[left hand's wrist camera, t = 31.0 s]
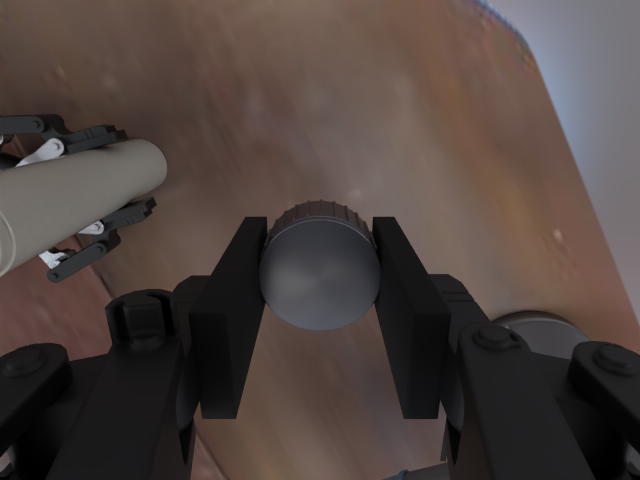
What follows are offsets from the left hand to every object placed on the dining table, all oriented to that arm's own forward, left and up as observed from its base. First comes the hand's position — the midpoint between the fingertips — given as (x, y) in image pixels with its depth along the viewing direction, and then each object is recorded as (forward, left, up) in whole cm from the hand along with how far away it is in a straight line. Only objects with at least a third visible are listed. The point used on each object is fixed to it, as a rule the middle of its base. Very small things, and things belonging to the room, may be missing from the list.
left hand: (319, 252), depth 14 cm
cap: (0, 0, +2) cm, 2 cm away
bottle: (+17, 0, -24) cm, 29 cm away
